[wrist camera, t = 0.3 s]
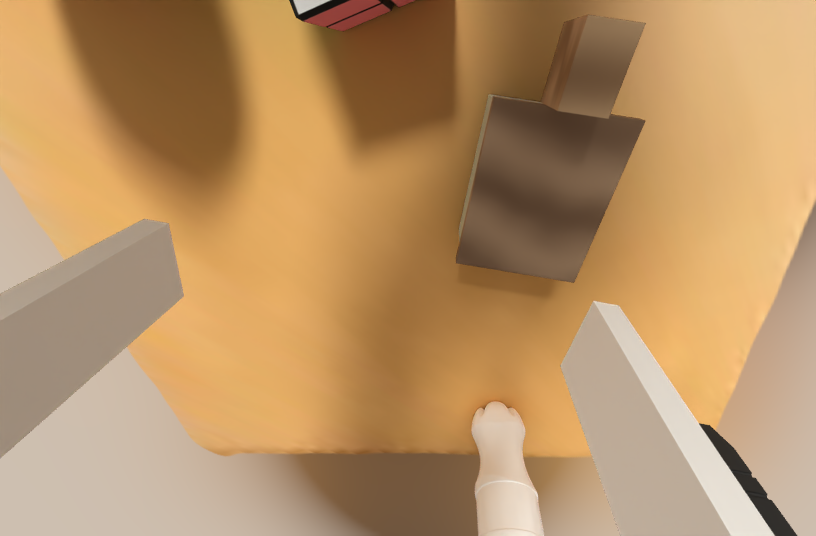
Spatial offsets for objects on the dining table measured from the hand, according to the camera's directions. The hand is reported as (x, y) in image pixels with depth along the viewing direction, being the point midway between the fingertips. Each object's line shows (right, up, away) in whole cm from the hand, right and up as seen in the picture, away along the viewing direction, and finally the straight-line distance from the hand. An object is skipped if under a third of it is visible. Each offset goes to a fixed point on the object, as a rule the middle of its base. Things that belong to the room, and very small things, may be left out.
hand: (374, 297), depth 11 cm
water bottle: (+14, -20, +41) cm, 47 cm away
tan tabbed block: (+12, +10, +18) cm, 24 cm away
